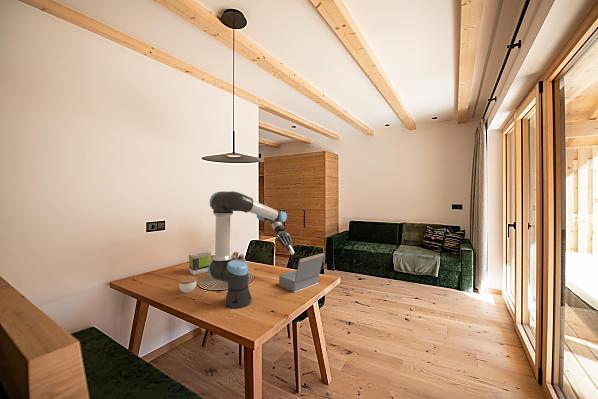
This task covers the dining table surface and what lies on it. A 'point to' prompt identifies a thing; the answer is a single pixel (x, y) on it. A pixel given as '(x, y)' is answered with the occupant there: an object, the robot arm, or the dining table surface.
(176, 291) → the dining table surface
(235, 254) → the owl figurine
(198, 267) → the tea box
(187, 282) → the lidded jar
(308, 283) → the mailer box
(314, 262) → the lid
